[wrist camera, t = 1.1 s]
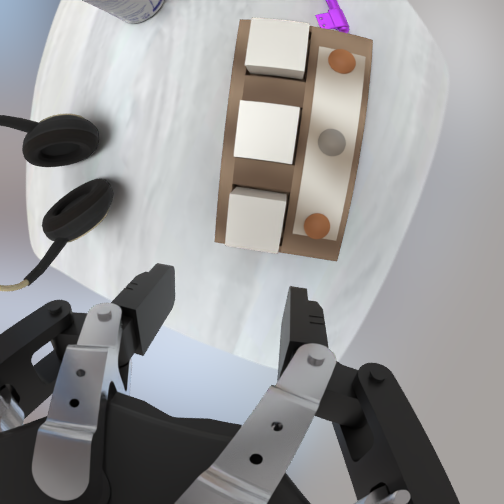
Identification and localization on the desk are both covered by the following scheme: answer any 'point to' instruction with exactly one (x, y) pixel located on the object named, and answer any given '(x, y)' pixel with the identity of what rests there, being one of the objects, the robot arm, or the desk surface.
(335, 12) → the purple-handled probe tool
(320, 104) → the button board
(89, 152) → the headphones
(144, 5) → the energy drink
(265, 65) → the button
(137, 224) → the desk surface
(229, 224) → the button
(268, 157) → the button middle
